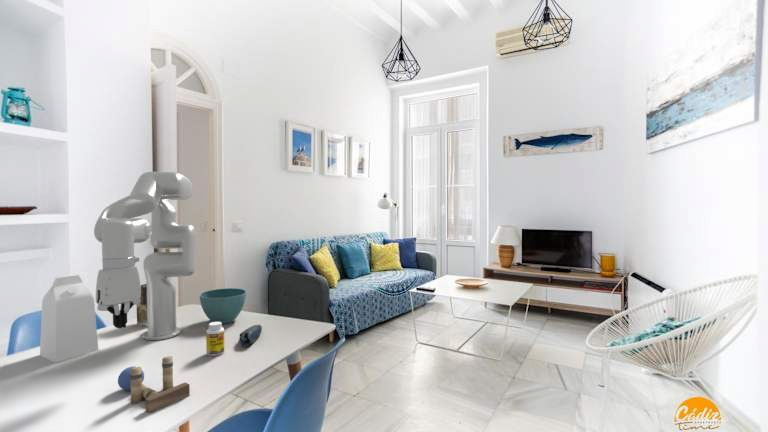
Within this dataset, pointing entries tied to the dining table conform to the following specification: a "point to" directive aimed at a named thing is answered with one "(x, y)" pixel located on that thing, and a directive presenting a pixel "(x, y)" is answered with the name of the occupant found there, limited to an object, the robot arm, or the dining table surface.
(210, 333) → the supplement bottle
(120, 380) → the ball
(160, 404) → the back wall
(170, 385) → the back left pin
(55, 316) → the milk
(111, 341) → the dining table surface
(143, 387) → the front pin
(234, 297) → the teal bowl
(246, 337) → the fish model
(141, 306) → the coffee box
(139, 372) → the back right pin
